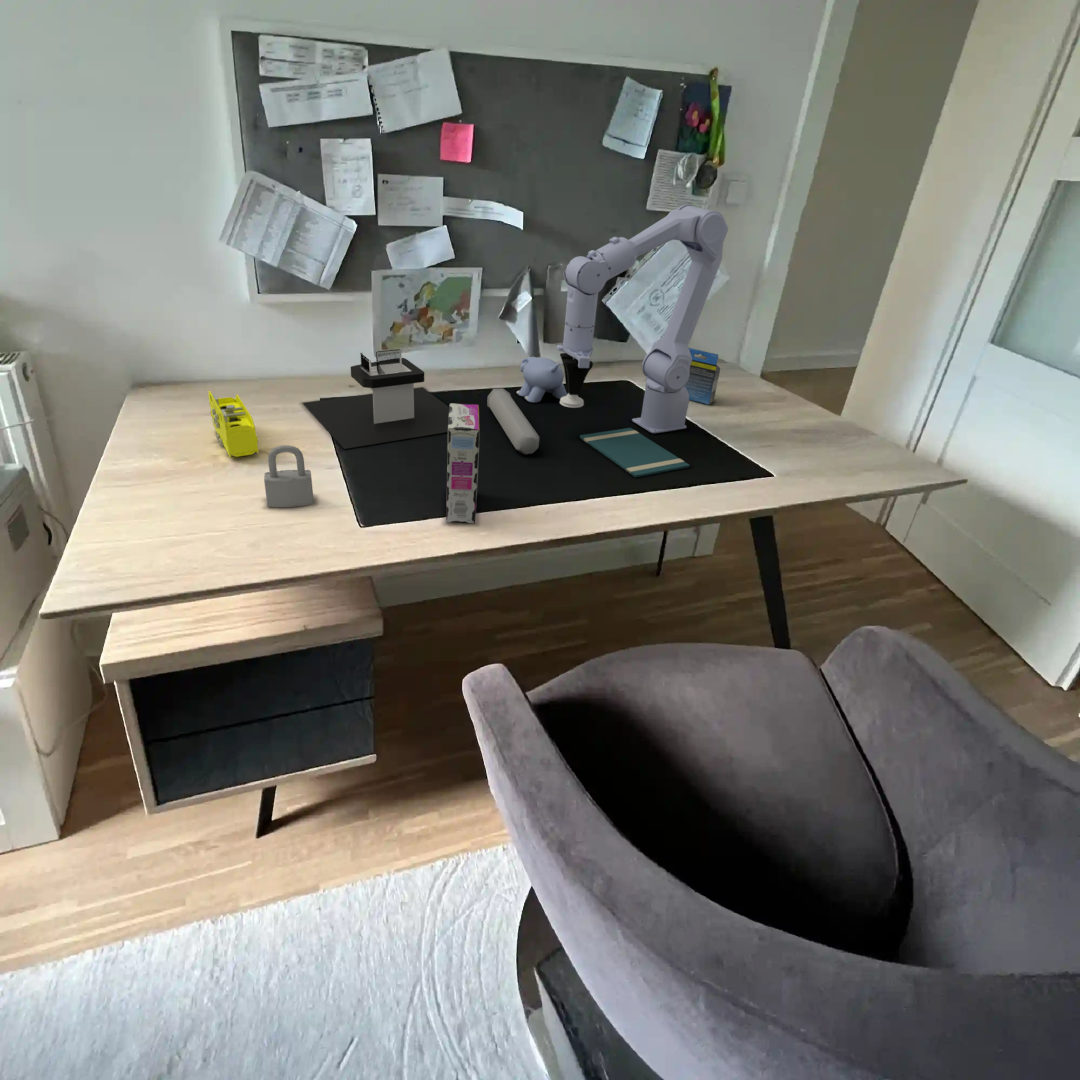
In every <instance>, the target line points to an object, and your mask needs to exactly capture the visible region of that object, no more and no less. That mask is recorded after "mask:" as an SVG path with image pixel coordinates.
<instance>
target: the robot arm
mask: <svg viewBox="0 0 1080 1080" xmlns="http://www.w3.org/2000/svg"><path fill="white" fill-rule="evenodd" d="M728 231H729V227H728V224H727V222H726V220H725V218H724V215H723V214H722V213H721V212H720V211H719V210H711V209H706V208H702V207H698V206H695V205H693V204H689V203H686V204H683V205H680V206H679V207H678V208H674V209H672V210H670V211H669V213H668V214H667V215H666V216H664V217H663V218H661V219H660V220H658V221H656V222H655V223H653V224H652V225H650V226H649V227H647V228H645V229H644V230H642V231H641V232H639V233H637V234H636V235H634V236H632V237H631V238H629V239H628V238H625V237H624V236H619V237H618V236H612V238H611V237H610V238H609V243H606V244H605V245H603V246H601V247H599V248H597V249H596V250H594V249H591V250H590V251H588V253H587V255H586V256H581V255H579V256H575V257H573V258H572V259H571V260H570V261H569V263H568V264H567V265H566V269H565V270H563V278H564V282H565V284H566V286H567V292H566V293H567V296H566V297H567V298H566V305H565V306H566V307H565V317H564V329H563V330H564V331H563V341H562V344H557V345H556V350H557V351H558V352H561V353H559V357H560V359H561V363H562V367H563V372H564V380H565V389H566V391H567V392H568V393H569V395H578V396H579V395H580V394H581V392H582V389H583V386H584V383H585V381H586V378H587V376H588V374H589V373H590V371H591V370H592V368H593V366H594V363H593V361H592V360H591V356H592V354H593V352H594V348H593V342H594V336H595V335H594V334H595V324H596V316H597V307H598V297H599V292H601V291H602V290H603V288H604V287H605V286H606V283H607V282H608V281H609V280H611V279H612V278H614V277H616V276H618V275H620V274H622V273H623V272H626V271H627V270H629V269H631V268H632V267H634V265H635V264H636V262H637V258H638V257H639V256H641V255H644V254H646V253H648V252H650V251H652V250H654V249H656V248H659V247H660V246H663V245H665V244H667V243H669V242H671V241H679V242H680V243H681V244H682V245H683V247H684V248H686V250H687V253H688V256H689V258H690V260H691V262H690V265H689V267H688V271H687V273H686V275H685V278H684V280H683V284H682V287H681V289H680V290H679V294H678V297H677V300H676V302H675V305H674V307H673V310H672V313H671V315H670V318H669V321H668V323H667V326H666V328H665V331H664V333H663V337H661V338H660V339H658V340H656V341H655V342H653V343H652V345H651V349H650V350H649V352H648V353H647V354H646V355H645V356H644V358H643V360H642V363H641V372H642V374H643V375H644V376H645V380H644V382H645V389H644V395H643V402H642V408H641V415H640V417H634V418H632V419H631V421H632V422H633V423H635V424H636V425H638V426H640V427H641V428H643V429H644V430H646V431H648V432H649V433H651V434H655V435H656V434H659V433H666V432H673V431H679V430H685V429H687V428H688V427H687V425H686V418H687V414H688V408H689V403H690V400H689V394H688V391H687V389H686V387H685V384H686V383H687V381H688V379H689V375H690V365H691V362H692V356H691V353H690V351H689V348H690V347H689V344H690V342H691V340H692V337H693V335H694V332H695V329H696V327H697V325H698V322H699V319H700V317H701V314H702V311H703V309H704V307H705V305H706V301H707V300H708V296H709V295H710V294H709V293H710V292H711V289H712V286H713V283H714V281H715V279H716V276H717V274H718V271H719V268H720V266H721V263H722V259H723V250H724V241H725V239H726V236H727V234H728ZM573 357H574V359H573Z"/></svg>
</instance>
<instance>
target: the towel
mask: <svg viewBox="0 0 1080 1080" xmlns="http://www.w3.org/2000/svg"><path fill="white" fill-rule="evenodd" d="M579 439H581V440H582V441H583V442H585V443H586V444H587V445H589V446H590V447H592V448H593V449H595V450H596V451H597V452H599V453H600V454H601V455H603V456H605V457H606V458H608V459H609V460H610V461H611V462H613V463H614V464H616V465H617V466H619V467H620V468H621V469H623V470H624V471H626V472H627V473H629V474H630V475H631V476H632V477H634V478H640V477H646V476H651V475H656V474H661V473H666V472H671V471H677V470H683V469H687V468H690V464H689V463H687V461H684V460H683V459H682V458H679V457H678V456H676V455H675V454H673V453H671V452H670V451H669V450H667V449H665V448H664V447H662V446H660V445H659V444H657V443H656V442H654V441H652V440H651V439H649V438H648V437H647V436H645V435H643V434H642V433H640V432H638V431H637V430H636V429H634V428H632V427H625V428H619V429H613V430H606V431H599V432H594V433H593V432H592V433H587V434H580V435H579Z"/></svg>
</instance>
